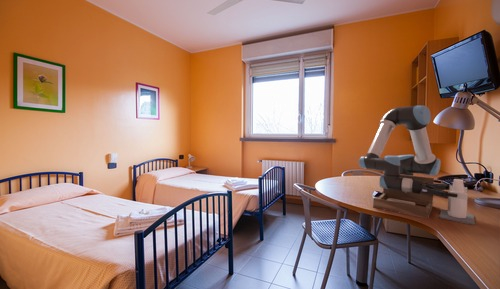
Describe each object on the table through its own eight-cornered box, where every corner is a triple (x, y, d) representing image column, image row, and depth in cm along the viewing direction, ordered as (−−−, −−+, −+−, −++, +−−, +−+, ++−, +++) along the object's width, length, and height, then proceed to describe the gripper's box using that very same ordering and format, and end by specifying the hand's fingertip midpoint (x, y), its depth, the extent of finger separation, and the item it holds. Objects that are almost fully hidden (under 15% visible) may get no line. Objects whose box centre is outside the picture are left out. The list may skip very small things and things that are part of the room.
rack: (383, 197, 140) (384, 172, 138) (432, 206, 123) (433, 177, 122) (373, 207, 123) (373, 179, 122) (428, 218, 107) (429, 186, 105)
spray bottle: (460, 213, 110) (462, 178, 109) (470, 219, 104) (472, 181, 102) (444, 212, 112) (445, 177, 111) (452, 217, 105) (454, 181, 104)
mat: (441, 210, 117) (441, 208, 117) (473, 215, 109) (473, 214, 109) (439, 218, 107) (439, 216, 107) (474, 225, 99) (474, 224, 99)
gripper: (415, 187, 129) (466, 194, 114) (408, 198, 111) (467, 208, 96) (416, 175, 128) (467, 180, 113) (408, 183, 110) (468, 191, 95)
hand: (467, 193), depth 105 cm, fingers open, 13 cm apart
